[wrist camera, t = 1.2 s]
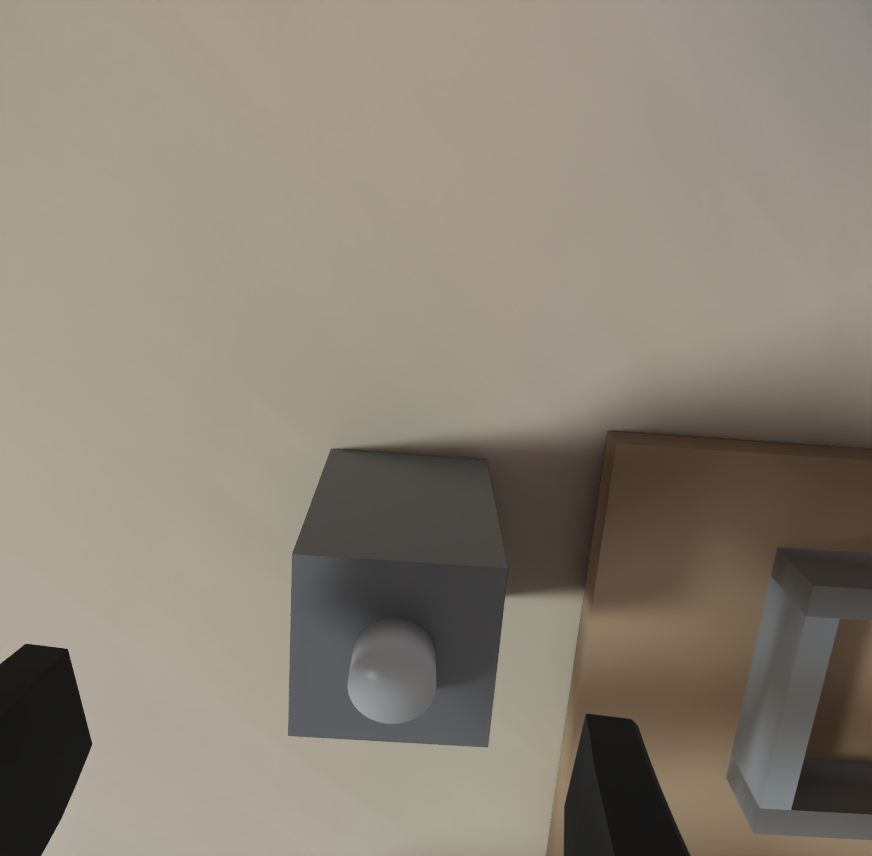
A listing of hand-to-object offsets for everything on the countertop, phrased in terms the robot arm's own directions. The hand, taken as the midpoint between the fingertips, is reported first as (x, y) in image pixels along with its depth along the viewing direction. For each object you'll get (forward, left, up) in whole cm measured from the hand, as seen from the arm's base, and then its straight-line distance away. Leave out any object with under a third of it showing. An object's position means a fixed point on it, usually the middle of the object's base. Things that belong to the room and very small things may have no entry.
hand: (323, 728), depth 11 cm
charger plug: (-1, -1, -10) cm, 10 cm away
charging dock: (-6, -13, -10) cm, 17 cm away
